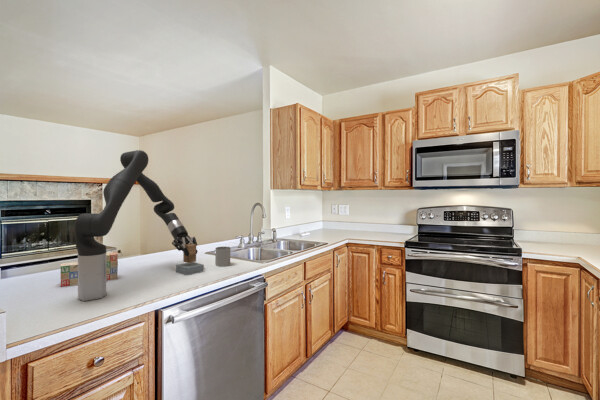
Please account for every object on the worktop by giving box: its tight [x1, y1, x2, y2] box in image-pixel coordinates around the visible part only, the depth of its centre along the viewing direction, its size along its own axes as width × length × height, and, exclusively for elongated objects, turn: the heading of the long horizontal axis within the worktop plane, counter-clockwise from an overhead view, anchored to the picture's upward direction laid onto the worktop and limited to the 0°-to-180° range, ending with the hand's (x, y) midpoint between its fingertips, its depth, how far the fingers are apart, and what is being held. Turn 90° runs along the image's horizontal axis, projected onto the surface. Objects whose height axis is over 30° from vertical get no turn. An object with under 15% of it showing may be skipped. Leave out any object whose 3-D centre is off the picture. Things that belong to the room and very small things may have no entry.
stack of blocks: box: [60, 251, 119, 288], centre depth 135 cm, size 21×6×12 cm, turn 127°
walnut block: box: [182, 243, 197, 263], centre depth 153 cm, size 4×4×9 cm
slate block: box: [175, 261, 205, 276], centre depth 154 cm, size 10×10×4 cm
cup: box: [214, 246, 231, 268], centre depth 169 cm, size 8×8×10 cm
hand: (192, 254), depth 153 cm, fingers closed on walnut block, 4 cm apart
